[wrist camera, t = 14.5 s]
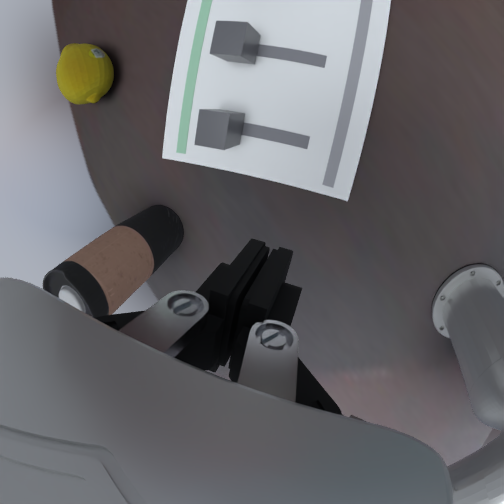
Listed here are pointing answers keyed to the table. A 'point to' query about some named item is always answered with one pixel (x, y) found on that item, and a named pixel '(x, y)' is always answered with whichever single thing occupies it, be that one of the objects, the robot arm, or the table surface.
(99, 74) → the lemon
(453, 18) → the table surface
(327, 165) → the breaker panel
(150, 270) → the travel mug
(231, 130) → the block
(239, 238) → the table surface
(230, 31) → the block
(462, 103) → the table surface
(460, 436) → the table surface
